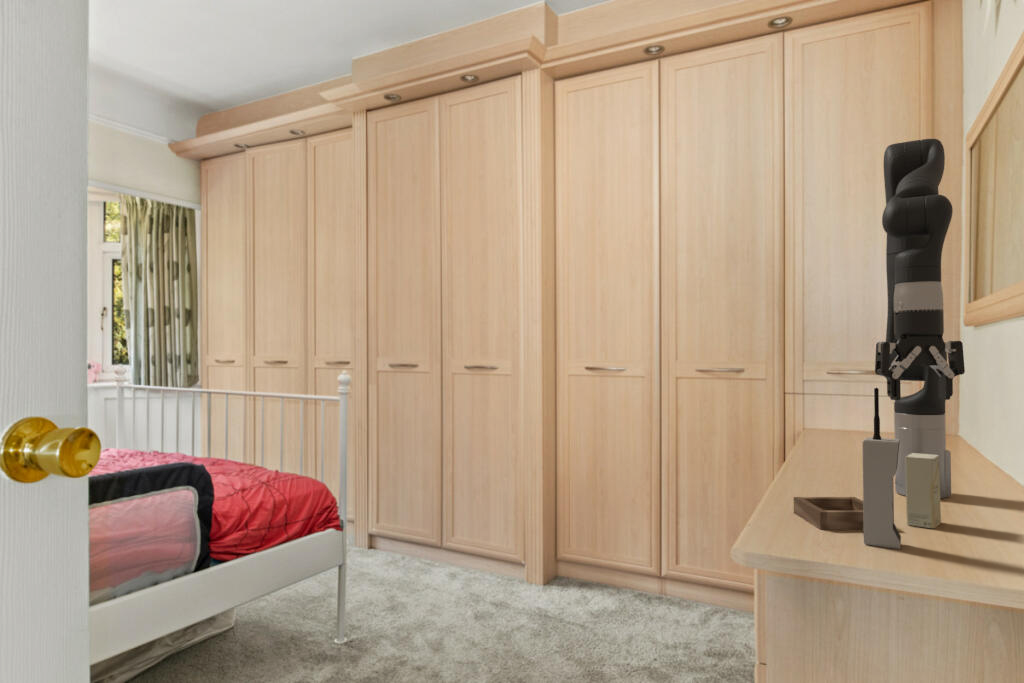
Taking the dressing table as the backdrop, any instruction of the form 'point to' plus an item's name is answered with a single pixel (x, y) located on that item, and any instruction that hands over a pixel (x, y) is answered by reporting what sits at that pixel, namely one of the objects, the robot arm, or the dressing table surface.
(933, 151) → the robot arm
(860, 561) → the dressing table surface
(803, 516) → the walnut holder
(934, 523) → the skincare box
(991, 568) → the dressing table surface
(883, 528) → the vintage mobile phone
